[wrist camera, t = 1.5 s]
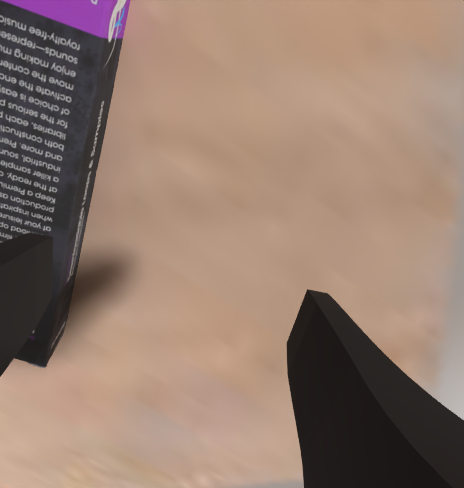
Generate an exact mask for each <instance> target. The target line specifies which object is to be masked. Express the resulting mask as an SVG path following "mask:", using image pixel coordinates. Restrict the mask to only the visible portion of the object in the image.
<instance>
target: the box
mask: <svg viewBox="0 0 464 488" xmlns="http://www.w3.org/2000/svg"><path fill="white" fill-rule="evenodd" d="M129 4H130V0H0V243H1V242H4V241H6V240H9V239H12V238H14V237H17V236H20V235H23V234H26V233H30V232H31V233H36V234H41V235H46V236H50V237H53V260H52V297H51V300H50V302H49V304H48V306H47V308H46V310H45V312H44V314H43V315H42V317H41V319H40V321H39V323H38V325H37V326H36V328H35V330H34V331H33V332H32V334H31V335H30V337H29V338H28V339H27V341H26V342H25V344H24V345H23V346H22V348H21V349H20V351H19V352H18V353H17V355H16V356H15V357H14V358H15V359H19V360H22V361H26V362H28V363H30V364H32V365H34V366H38V367H42V368H45V367H46V366H47V363H48V361H49V359H50V357H51V356H52V354H53V352H54V350H55V348H56V346H57V345H58V343H59V341H60V339H61V337H62V335H63V332H64V329H65V325H66V321H67V317H68V312H69V307H70V302H71V297H72V292H73V287H74V282H75V276H76V272H77V267H78V262H79V257H80V252H81V247H82V242H83V237H84V232H85V227H86V222H87V217H88V212H89V207H90V202H91V197H92V193H93V187H94V182H95V176H96V170H97V167H98V163H99V158H100V154H101V149H102V144H103V139H104V134H105V129H106V123H107V118H108V112H109V107H110V103H111V98H112V93H113V88H114V81H115V76H116V71H117V67H118V61H119V55H120V50H121V45H122V40H123V35H124V30H125V25H126V20H127V15H128V9H129Z"/></svg>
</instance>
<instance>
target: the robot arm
mask: <svg viewBox="0 0 464 488" xmlns="http://www.w3.org/2000/svg"><path fill="white" fill-rule="evenodd" d="M52 260H53V237H50V236H46V235H41V234H36V233H31V232H30V233H26V234H23V235H20V236H17V237H14V238H12V239H9V240H6V241H4V242H1V243H0V376H1V375H2V374H3V372H4V371H5V370H6V368H7V367H8V366H9V364H10V363H11V361H12V360H13V359H14V357H15V356H16V355H17V353H18V352H19V351H20V349H21V348H22V346H23V345H24V344H25V342H26V341H27V339H28V338H29V337H30V335H31V334H32V332H33V331H34V330H35V328H36V326H37V325H38V323H39V321H40V319H41V317H42V315H43V314H44V312H45V310H46V308H47V306H48V304H49V302H50V300H51V297H52ZM287 368H288V379H289V385H290V391H291V397H292V403H293V409H294V415H295V420H296V426H297V432H298V438H299V443H300V449H301V457H302V465H303V478H304V488H464V420H462V419H461V418H460V417H458V416H457V415H456V414H454V413H453V412H451V411H450V410H449V409H447V408H446V407H445V406H443V405H442V404H441V403H440V402H438V401H437V400H436V399H434V398H433V397H432V396H431V395H430V394H428V393H427V392H426V391H425V390H424V389H422V388H421V387H420V386H419V385H418V384H417V383H415V382H414V381H413V380H412V379H411V378H409V377H408V376H407V375H406V374H405V373H404V372H403V371H402V370H401V369H400V368H399V367H398V366H396V365H395V364H394V363H393V362H392V361H391V360H390V359H389V358H388V357H387V356H386V355H385V354H384V353H383V352H382V351H381V350H380V349H379V348H378V347H377V346H376V345H375V344H374V343H373V342H372V341H371V339H370V338H369V337H368V336H367V335H366V334H365V333H364V332H363V331H362V330H361V329H360V328H359V327H358V325H357V324H356V323H355V322H354V321H353V320H352V319H351V318H350V317H349V315H348V314H347V313H346V312H345V311H344V310H343V309H342V308H341V307H340V306H339V304H338V303H337V302H336V301H335V300H334V299H333V298H332V297H331V296H330V295H329V294H328V293H323V292H318V291H313V290H308V289H307V292H306V294H305V297H304V299H303V302H302V305H301V307H300V310H299V313H298V315H297V318H296V320H295V323H294V326H293V328H292V331H291V333H290V336H289V339H288V341H287Z"/></svg>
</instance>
